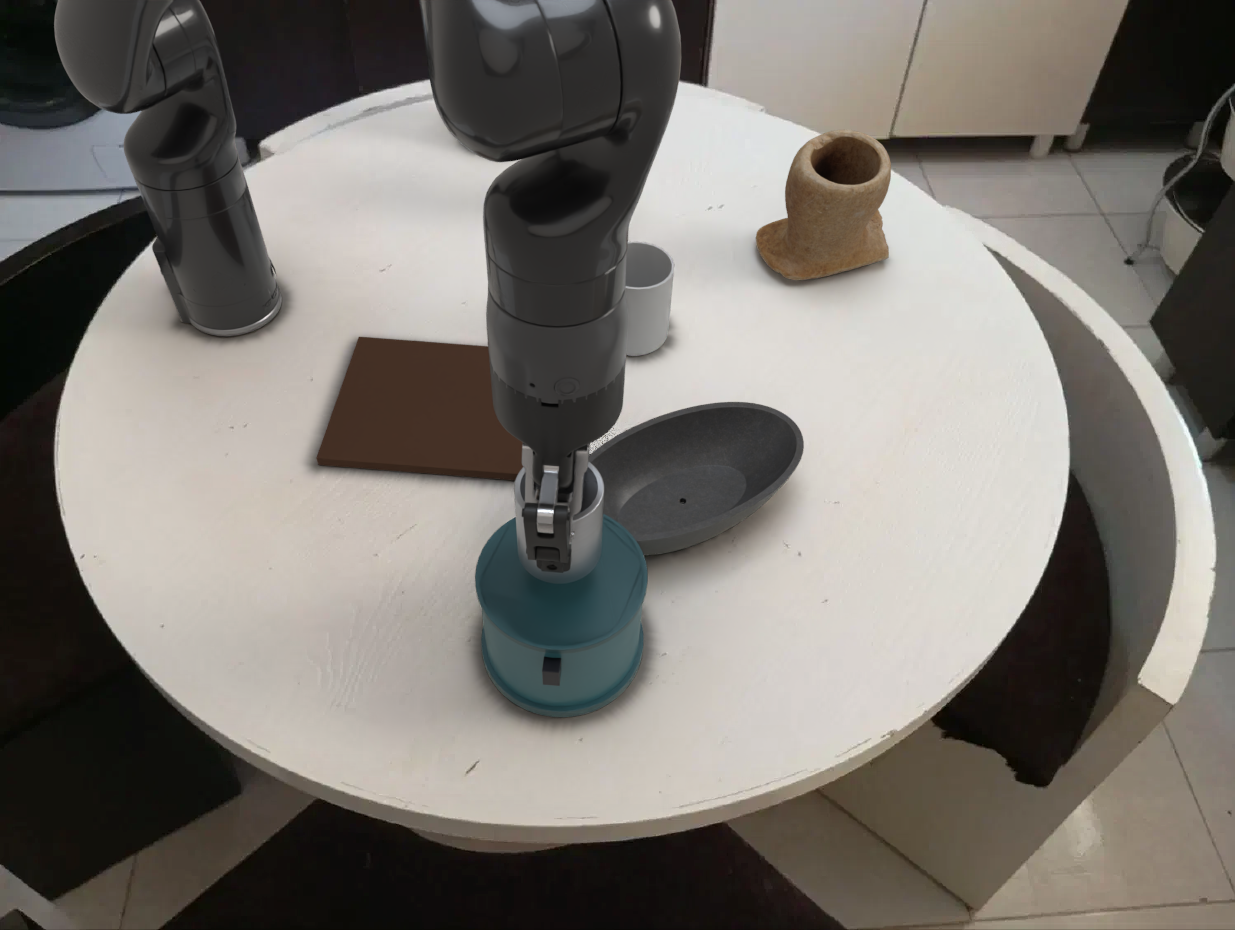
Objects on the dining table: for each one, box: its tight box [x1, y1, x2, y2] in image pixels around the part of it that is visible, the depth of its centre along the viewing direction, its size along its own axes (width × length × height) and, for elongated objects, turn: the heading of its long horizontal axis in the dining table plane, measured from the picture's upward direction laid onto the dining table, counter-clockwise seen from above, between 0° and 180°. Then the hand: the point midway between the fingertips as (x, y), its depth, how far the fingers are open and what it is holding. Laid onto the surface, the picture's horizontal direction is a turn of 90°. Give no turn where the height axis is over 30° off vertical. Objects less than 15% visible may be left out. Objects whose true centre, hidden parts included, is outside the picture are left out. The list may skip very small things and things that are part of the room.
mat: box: [315, 336, 523, 481], centre depth 94 cm, size 20×16×1 cm
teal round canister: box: [474, 514, 649, 718], centre depth 75 cm, size 13×14×10 cm
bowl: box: [589, 401, 805, 556], centre depth 85 cm, size 12×22×6 cm, turn 119°
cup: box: [625, 240, 675, 357], centre depth 98 cm, size 7×10×9 cm
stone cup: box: [755, 129, 892, 281], centre depth 105 cm, size 15×12×15 cm
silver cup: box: [513, 462, 604, 584], centre depth 66 cm, size 6×6×7 cm
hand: (559, 526), depth 67 cm, fingers closed on silver cup, 6 cm apart
